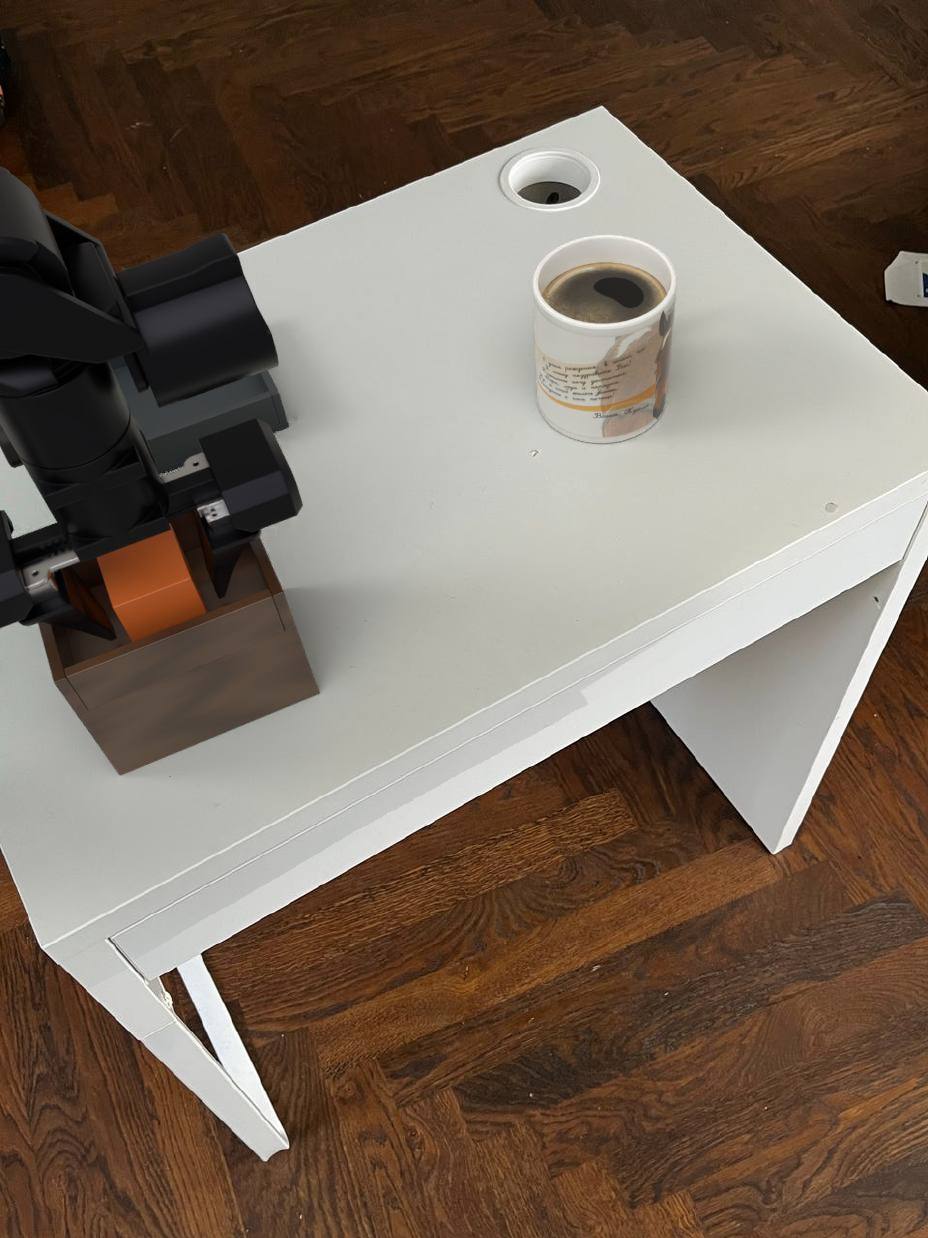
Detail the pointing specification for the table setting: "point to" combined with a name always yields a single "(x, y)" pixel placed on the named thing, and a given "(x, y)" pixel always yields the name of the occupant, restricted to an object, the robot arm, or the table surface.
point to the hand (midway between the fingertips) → (166, 613)
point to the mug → (603, 336)
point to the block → (151, 585)
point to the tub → (199, 414)
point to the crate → (183, 662)
